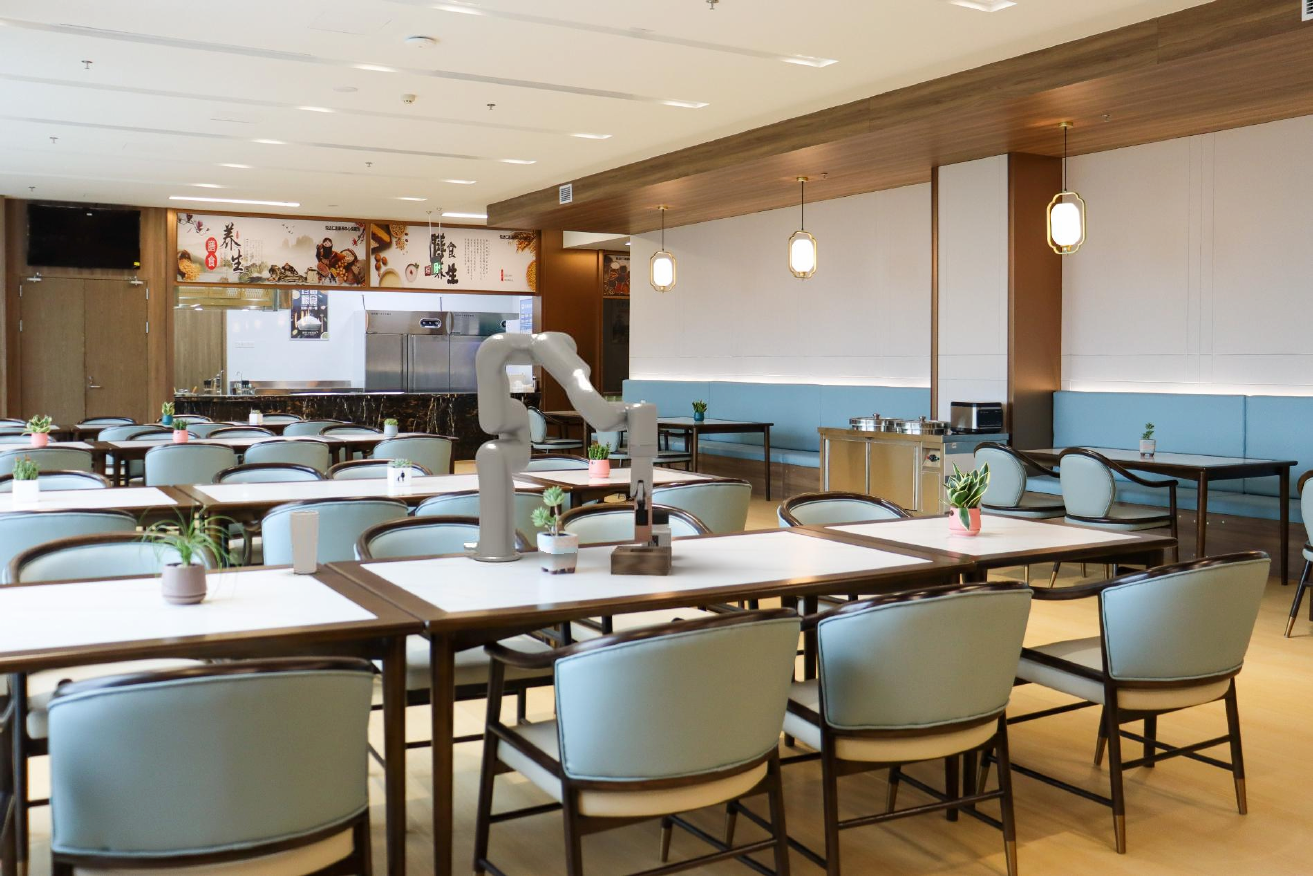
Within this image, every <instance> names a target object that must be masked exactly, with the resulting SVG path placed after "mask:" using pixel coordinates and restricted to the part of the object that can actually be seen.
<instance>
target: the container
mask: <svg viewBox="0 0 1313 876" xmlns="http://www.w3.org/2000/svg"><path fill="white" fill-rule="evenodd" d="M641 546H660V547H672V528H671V527H670V512H669V511H667V510H666V509H658V508H657V509H653V508H652V541H650V542H641Z"/></svg>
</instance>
